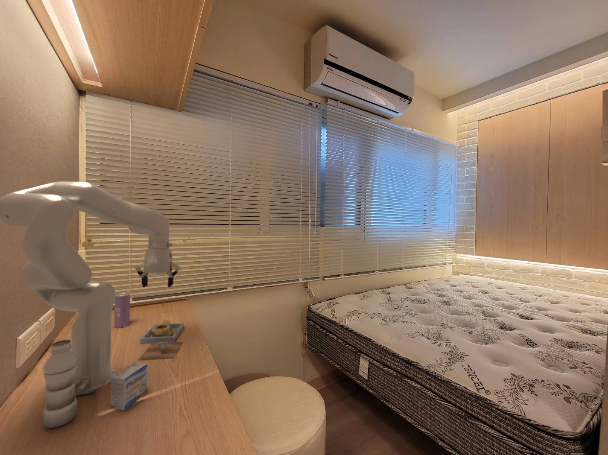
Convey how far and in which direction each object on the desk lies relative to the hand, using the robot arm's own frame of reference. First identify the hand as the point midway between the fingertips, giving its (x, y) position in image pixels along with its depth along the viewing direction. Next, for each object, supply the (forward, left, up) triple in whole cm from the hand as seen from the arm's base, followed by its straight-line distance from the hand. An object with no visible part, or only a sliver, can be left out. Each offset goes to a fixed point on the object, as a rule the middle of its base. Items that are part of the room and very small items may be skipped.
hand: (157, 286), depth 108 cm
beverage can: (+18, +21, -23) cm, 36 cm away
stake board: (-11, -6, -23) cm, 26 cm away
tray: (+3, -2, -23) cm, 23 cm away
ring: (+2, -2, -22) cm, 22 cm away
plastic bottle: (-43, +7, -23) cm, 50 cm away
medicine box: (-37, -6, -23) cm, 44 cm away
